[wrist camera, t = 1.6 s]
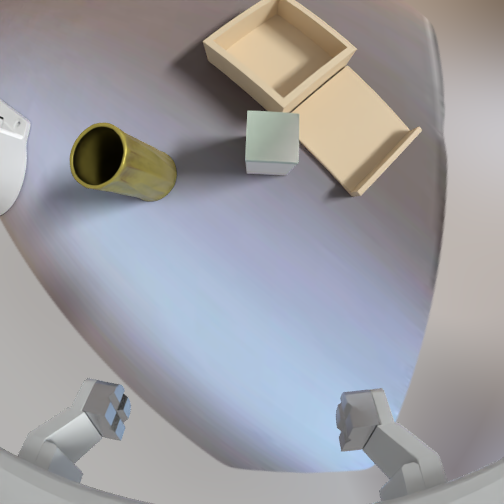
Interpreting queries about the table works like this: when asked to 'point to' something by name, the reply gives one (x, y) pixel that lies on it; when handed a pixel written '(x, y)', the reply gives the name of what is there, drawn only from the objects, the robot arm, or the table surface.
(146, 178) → the vase
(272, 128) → the carton
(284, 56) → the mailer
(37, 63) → the table surface
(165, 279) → the table surface
